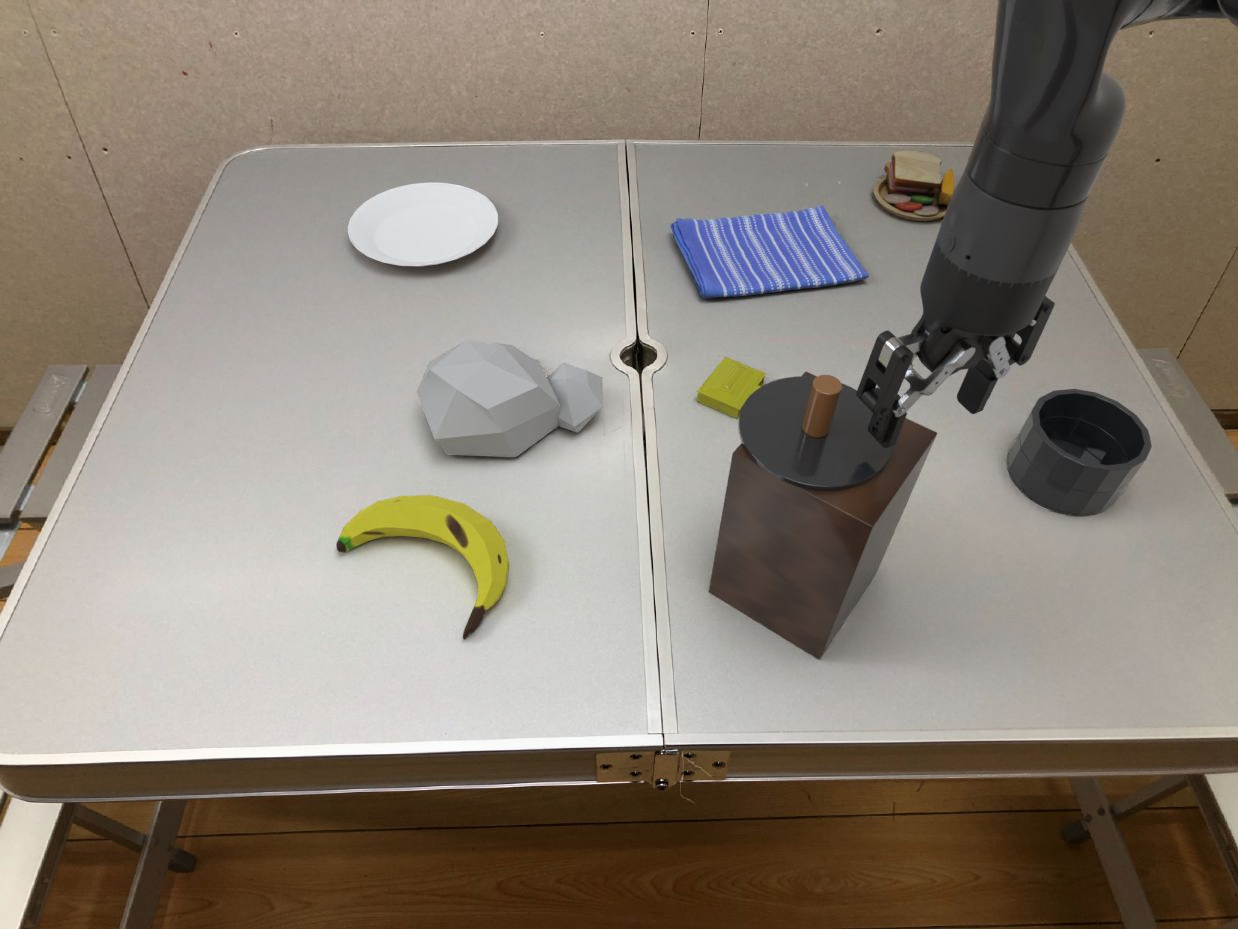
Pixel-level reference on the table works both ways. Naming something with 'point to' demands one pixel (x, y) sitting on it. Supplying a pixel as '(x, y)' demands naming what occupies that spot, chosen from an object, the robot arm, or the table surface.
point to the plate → (423, 224)
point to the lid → (811, 433)
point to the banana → (439, 539)
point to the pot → (1077, 452)
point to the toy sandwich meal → (915, 186)
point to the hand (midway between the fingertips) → (925, 422)
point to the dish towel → (765, 253)
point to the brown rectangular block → (809, 542)
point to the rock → (502, 399)
